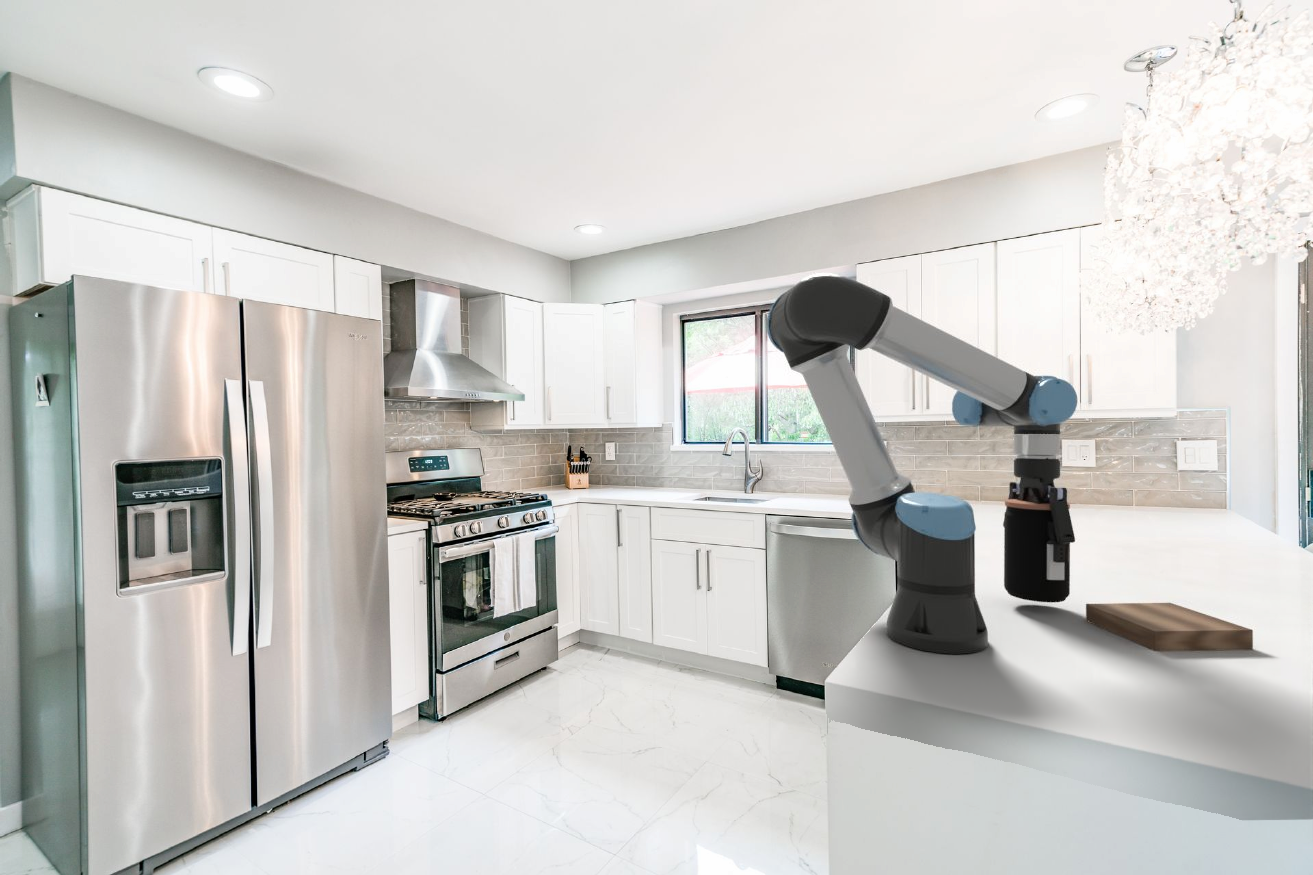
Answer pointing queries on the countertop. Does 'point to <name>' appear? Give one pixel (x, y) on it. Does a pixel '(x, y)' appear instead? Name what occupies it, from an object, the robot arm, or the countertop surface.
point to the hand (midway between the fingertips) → (1036, 572)
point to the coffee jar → (1031, 553)
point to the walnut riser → (1169, 626)
